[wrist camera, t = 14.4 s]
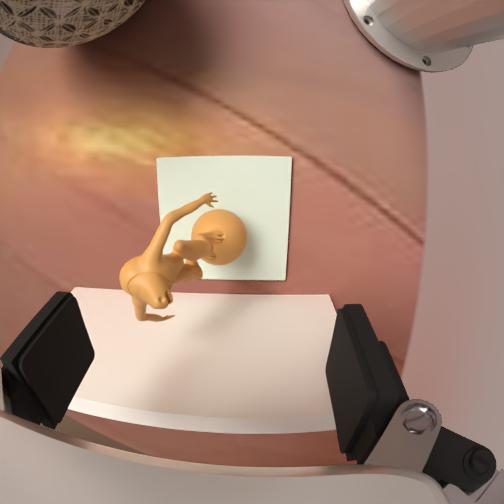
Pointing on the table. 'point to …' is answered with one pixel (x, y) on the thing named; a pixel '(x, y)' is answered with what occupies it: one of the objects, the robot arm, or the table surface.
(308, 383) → the screen
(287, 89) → the table surface
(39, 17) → the decorative egg
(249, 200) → the mat
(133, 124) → the table surface
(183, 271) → the figurine
